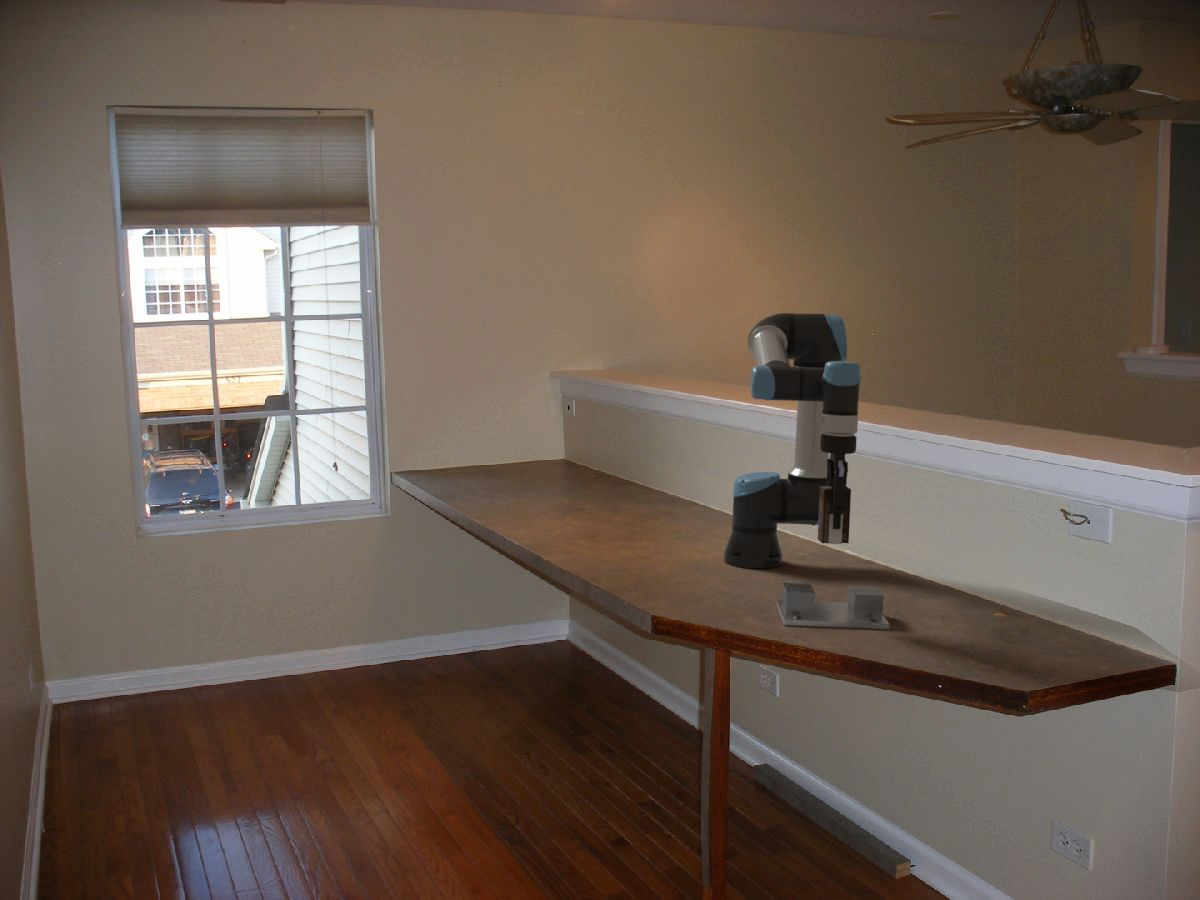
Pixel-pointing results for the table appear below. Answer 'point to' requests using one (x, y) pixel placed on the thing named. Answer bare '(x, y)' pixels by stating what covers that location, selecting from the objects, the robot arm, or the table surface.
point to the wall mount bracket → (832, 608)
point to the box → (824, 516)
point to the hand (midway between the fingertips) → (833, 540)
